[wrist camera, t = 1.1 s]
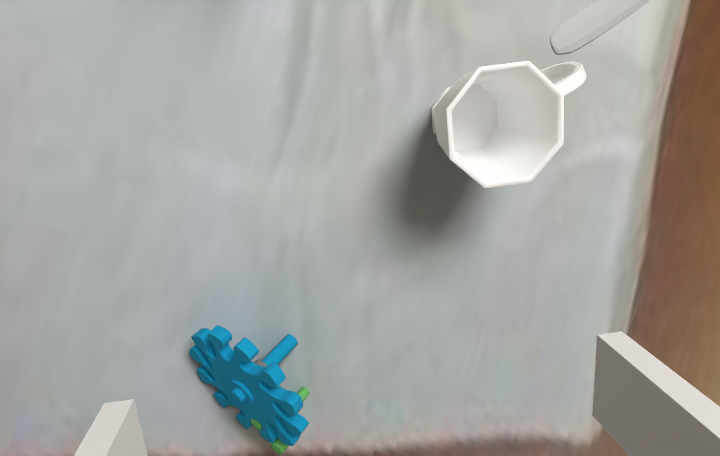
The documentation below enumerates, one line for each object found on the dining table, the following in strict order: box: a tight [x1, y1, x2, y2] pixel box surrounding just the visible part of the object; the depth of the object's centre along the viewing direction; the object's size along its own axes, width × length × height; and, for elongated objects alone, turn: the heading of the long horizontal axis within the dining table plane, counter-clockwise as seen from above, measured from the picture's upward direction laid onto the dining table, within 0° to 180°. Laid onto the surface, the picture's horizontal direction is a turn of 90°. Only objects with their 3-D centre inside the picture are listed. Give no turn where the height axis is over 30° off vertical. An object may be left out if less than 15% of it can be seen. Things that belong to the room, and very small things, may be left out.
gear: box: [189, 325, 310, 455], centre depth 37 cm, size 11×6×10 cm
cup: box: [431, 61, 587, 188], centre depth 32 cm, size 7×10×8 cm
